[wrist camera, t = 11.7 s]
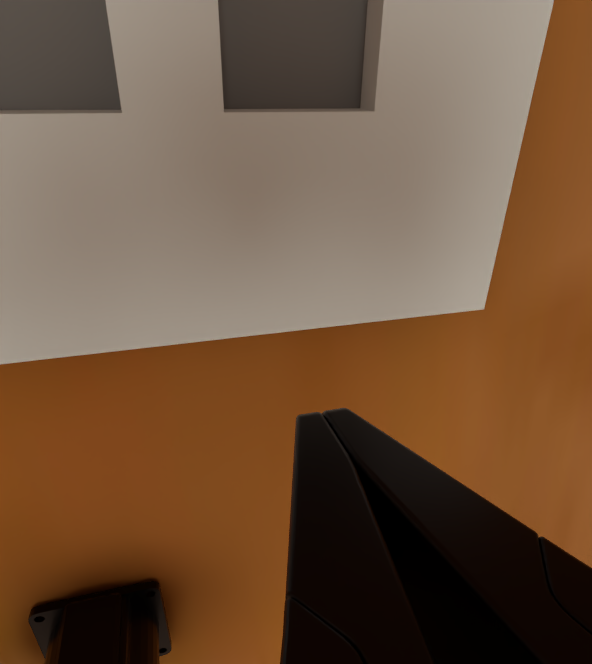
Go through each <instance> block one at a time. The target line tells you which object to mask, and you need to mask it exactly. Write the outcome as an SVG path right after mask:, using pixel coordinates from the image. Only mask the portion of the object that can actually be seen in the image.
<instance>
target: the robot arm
mask: <svg viewBox="0 0 592 664" xmlns="http://www.w3.org/2000/svg"><path fill="white" fill-rule="evenodd" d="M29 624H30V626H31V628H32V630H33V633H34V635H35V637H36V639H37V642H38V644H39V646H40V649H41V651H42V653H43V655H44V658H45V664H159V656H163V655H166V654H168V653H169V652H170V651H171V639H170V634H169V629H168V624H167V619H166V614H165V609H164V604H163V599H162V593H161V588H160V585H159V583H157V582H154V581H151V582H145V583H141V584H136V585H132V586H127V587H123V588H118V589H114V590H109V591H105V592H100V593H96V594H91V595H87V596H82V597H78V598H73V599H69V600H64V601H59V602H55V603H50V604H46V605H41V606H37V607H35V608H33V609H32V610H31V612H30V615H29ZM280 664H592V568H591V567H589V566H588V565H586V564H585V563H583V562H581V561H580V560H578V559H577V558H575V557H573V556H572V555H570V554H569V553H567V552H566V551H564V550H563V549H561V548H560V547H558V546H557V545H555V544H553V543H552V542H550V541H549V540H547V539H546V538H544V537H539V538H538V534H537V533H536V532H535V531H533V530H532V529H530V528H529V527H527V526H526V525H524V524H523V523H521V522H520V521H518V520H517V519H515V518H513V517H512V516H510V515H509V514H507V513H506V512H504V511H503V510H501V509H500V508H498V507H497V506H495V505H494V504H492V503H491V502H489V501H488V500H486V499H484V498H483V497H481V496H480V495H478V494H477V493H475V492H474V491H472V490H471V489H469V488H468V487H466V486H465V485H463V484H462V483H460V482H459V481H457V480H456V479H454V478H452V477H451V476H449V475H448V474H446V473H445V472H443V471H442V470H440V469H439V468H437V467H436V466H434V465H433V464H431V463H430V462H428V461H427V460H425V459H423V458H422V457H420V456H419V455H417V454H416V453H414V452H413V451H411V450H410V449H408V448H407V447H405V446H404V445H402V444H401V443H399V442H398V441H396V440H395V439H393V438H391V437H390V436H388V435H387V434H385V433H384V432H382V431H381V430H379V429H378V428H376V427H375V426H373V425H372V424H370V423H369V422H367V421H366V420H364V419H362V418H361V417H359V416H358V415H356V414H355V413H353V412H352V411H350V410H349V409H346V408H340V409H334V410H327V411H324V412H323V413H322V414H321V413H319V412H314V413H308V414H301V415H298V416H297V418H296V429H295V446H294V463H293V480H292V497H291V513H290V530H289V547H288V564H287V581H286V601H285V609H284V625H283V638H282V649H281V659H280Z"/></svg>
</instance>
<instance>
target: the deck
mask: <svg viewBox="0 0 592 664" xmlns="http://www.w3.org/2000/svg"><path fill="white" fill-rule="evenodd" d="M553 2H554V0H0V364H8V363H16V362H25V361H34V360H43V359H52V358H60V357H69V356H78V355H87V354H95V353H104V352H113V351H122V350H131V349H139V348H148V347H157V346H166V345H174V344H183V343H192V342H201V341H210V340H218V339H227V338H236V337H245V336H254V335H262V334H271V333H280V332H289V331H297V330H306V329H315V328H324V327H333V326H341V325H350V324H359V323H368V322H376V321H385V320H394V319H403V318H412V317H420V316H429V315H438V314H447V313H456V312H464V311H473V310H482V309H484V307H485V302H486V298H487V294H488V289H489V285H490V280H491V276H492V271H493V267H494V263H495V258H496V254H497V249H498V245H499V241H500V236H501V232H502V227H503V223H504V219H505V214H506V210H507V205H508V201H509V196H510V192H511V188H512V183H513V179H514V174H515V170H516V166H517V161H518V157H519V152H520V148H521V143H522V139H523V135H524V130H525V126H526V121H527V117H528V113H529V108H530V104H531V99H532V95H533V90H534V86H535V82H536V77H537V73H538V68H539V64H540V60H541V55H542V51H543V46H544V42H545V37H546V33H547V29H548V24H549V20H550V15H551V11H552V7H553Z"/></svg>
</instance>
